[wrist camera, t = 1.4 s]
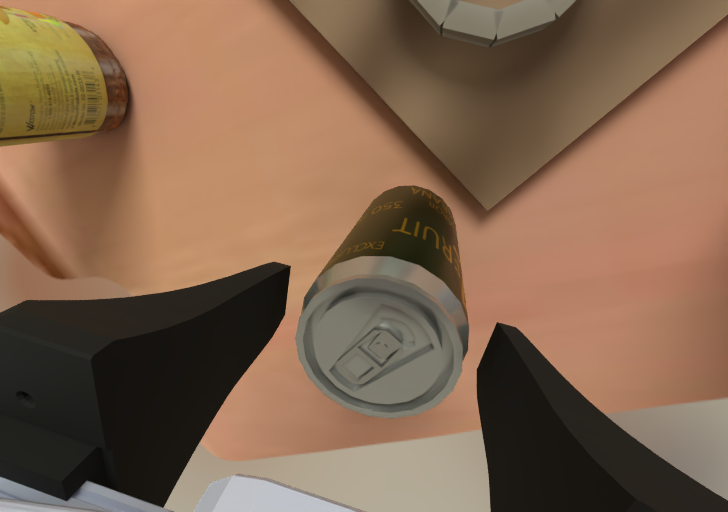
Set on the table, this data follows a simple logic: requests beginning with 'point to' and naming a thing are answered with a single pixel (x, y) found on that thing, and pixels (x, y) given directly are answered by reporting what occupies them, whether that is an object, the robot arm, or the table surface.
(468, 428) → the table surface
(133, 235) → the table surface
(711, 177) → the table surface
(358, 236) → the beer can
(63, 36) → the sauce bottle
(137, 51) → the table surface
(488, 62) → the collar board
